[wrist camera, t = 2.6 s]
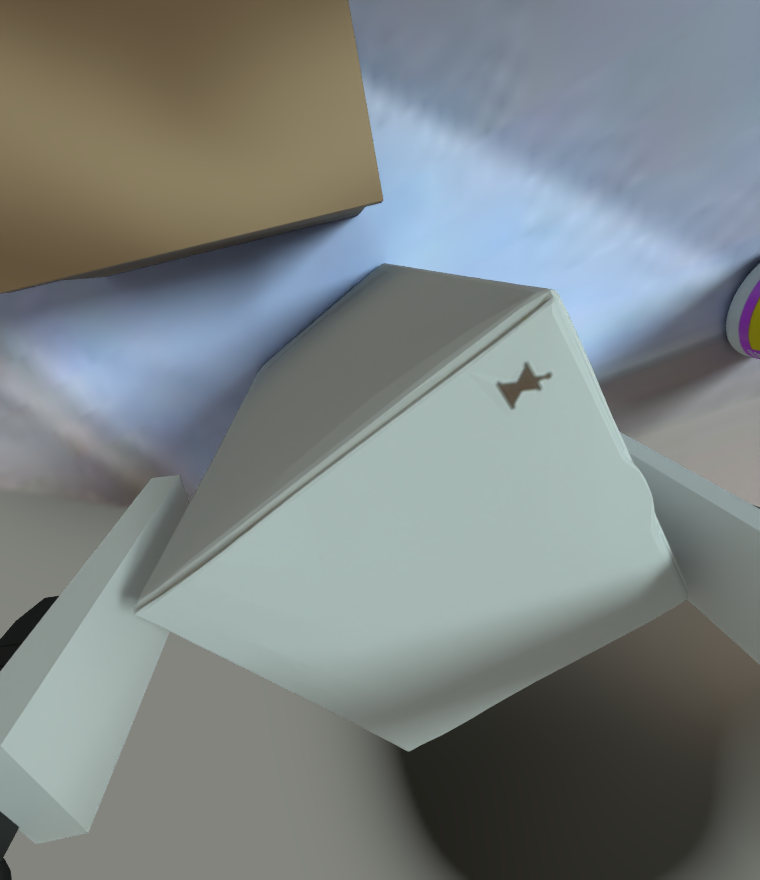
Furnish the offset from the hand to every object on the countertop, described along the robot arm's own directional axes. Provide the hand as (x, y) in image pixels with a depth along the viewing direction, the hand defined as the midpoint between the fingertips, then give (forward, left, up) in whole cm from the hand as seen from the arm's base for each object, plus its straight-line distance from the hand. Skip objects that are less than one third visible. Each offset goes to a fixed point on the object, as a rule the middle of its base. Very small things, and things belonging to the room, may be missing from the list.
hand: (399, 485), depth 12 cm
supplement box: (0, 0, -10) cm, 10 cm away
